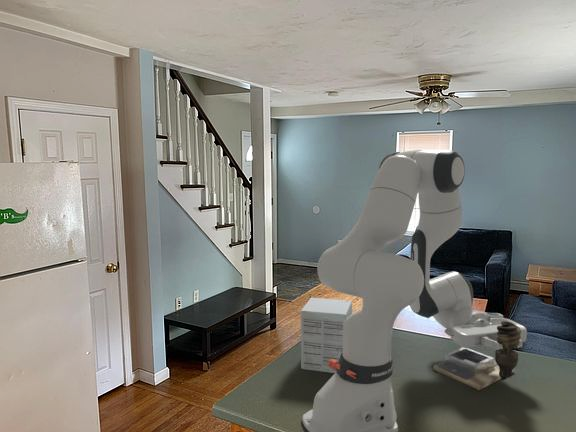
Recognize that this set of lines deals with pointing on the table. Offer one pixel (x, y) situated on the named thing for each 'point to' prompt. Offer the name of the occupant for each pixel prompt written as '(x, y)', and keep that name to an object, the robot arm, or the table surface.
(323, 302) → the supplement box
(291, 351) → the table surface
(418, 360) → the table surface
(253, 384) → the table surface
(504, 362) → the light bulb
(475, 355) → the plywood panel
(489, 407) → the table surface
